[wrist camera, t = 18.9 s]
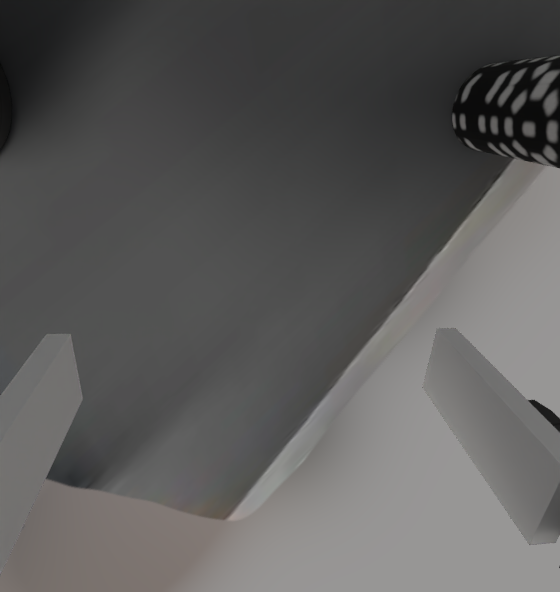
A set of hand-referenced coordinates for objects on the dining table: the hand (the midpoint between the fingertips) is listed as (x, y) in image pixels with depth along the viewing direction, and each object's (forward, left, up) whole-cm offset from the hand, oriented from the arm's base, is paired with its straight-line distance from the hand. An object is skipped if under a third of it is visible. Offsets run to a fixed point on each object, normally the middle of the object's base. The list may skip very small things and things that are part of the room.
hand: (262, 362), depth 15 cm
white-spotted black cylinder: (+26, +9, -32) cm, 42 cm away
